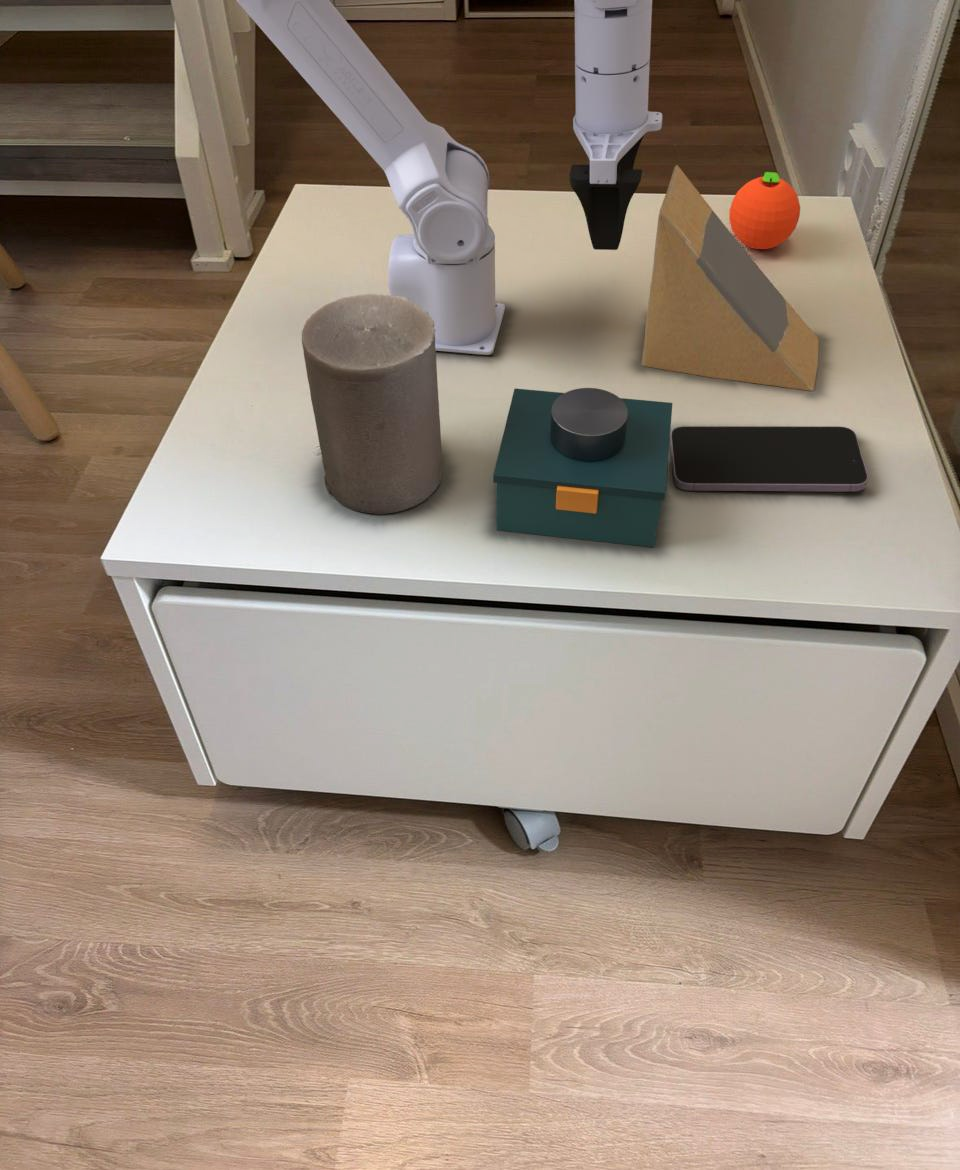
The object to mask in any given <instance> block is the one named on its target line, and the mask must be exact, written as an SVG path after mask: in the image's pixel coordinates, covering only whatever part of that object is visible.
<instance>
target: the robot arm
mask: <svg viewBox="0 0 960 1170" xmlns="http://www.w3.org/2000/svg"><path fill="white" fill-rule="evenodd" d="M235 1H236V3H237V4H239V6H240V7H241V8H242V9H243V10H244V11H245V12H246V14H247V15H248V16H249V17H250V18H251V20H252V21H254V23H255V24H256V25H257V26H258V27H259V29H260V30H261V31H262V32H263V33H264V35H265V36H267V38H268V39H269V40H270V41H271V43H272V44H273V45H274V46H275V47H276V48H277V49H278V51H279V52H280V53H281V54H282V55H283V56H284V58H286V60H287V61H288V62H289V63H290V64H291V66H292V67H293V68H294V69H295V70H296V71H297V72H298V73H299V75H300V76H301V77H302V78H303V79H304V81H305V82H306V83H307V84H308V85H309V86H310V87H311V89H313V91H314V92H315V93H316V94H317V96H319V98H320V99H321V100H322V101H323V102H324V104H325V105H326V106H327V107H328V108H329V109H330V110H331V112H332V113H333V114H334V115H335V116H336V117H337V119H339V121H340V122H341V123H342V124H343V125H344V126H345V128H346V129H347V130H348V131H349V132H350V133H351V135H352V136H353V137H354V138H355V139H356V140H357V142H358V143H359V144H360V145H361V146H362V147H363V149H364V150H365V151H366V152H367V153H368V154H369V155H370V157H371V158H372V159H373V160H374V161H375V162H376V164H378V166H379V167H380V168H381V169H382V170H383V171H384V174H385V176H386V180H387V181H388V184H389V187H390V189H391V192H392V194H393V195H392V196H393V198H394V200H395V203H396V205H397V207H398V209H399V210H400V211H401V212H402V213H403V214H404V215H405V217H406V218H407V219H408V221H409V223H410V226H411V229H412V233H410V234H399V235H395V237H394V238H393V240H392V243H391V245H390V246H391V247H390V250H389V255H388V265H387V266H388V269H387V283H388V295H389V296H401V297H405V298H407V299H408V300H409V301H411V302H413V303H415V304H417V305H419V306H420V307H421V308H423V309H424V310H425V311H426V312H428V313H429V316H430V317H431V319H432V320H433V321H434V328H435V329H436V330H435V349H436V352H437V351H438V352H448V353H460V354H469V355H470V354H472V355H482V356H491V355H492V354H493V353H494V351H495V347H496V344H497V340H498V337H499V333H500V329H501V325H502V322H503V319H504V316H505V311H506V305H505V304H504V303H502V302H501V303H500V302H499V303H498V302H496V235H495V232H494V230H493V228H492V227H491V226H490V223H489V217H488V201H489V200H488V199H489V196H488V195H489V189H490V173H489V169H488V166H487V164H486V162H485V160H484V159H483V158H482V157H481V155H479V154H478V153H477V152H476V151H475V150H473V149H471V148H470V147H467V146H466V145H463V144H461V143H459V142H457V141H456V140H455V139H454V138H453V137H451V135H450V134H449V133H448V132H447V131H446V129H445V128H444V127H442V126H441V125H439V124H436V123H432V122H430V121H428V120H427V119H426V118H425V117H424V115H422V113H421V112H420V110H419V109H418V108H417V106H416V105H415V104H414V103H413V102H412V101H411V100H410V98H409V97H408V96H407V94H406V93H405V92H404V91H403V90H402V88H401V87H400V86H399V85H398V84H397V82H396V81H395V80H394V78H393V77H392V76H391V75H390V74H389V72H388V71H387V70H386V68H385V67H384V66H383V65H382V63H381V62H380V61H379V59H377V58H376V56H375V55H374V54H373V52H372V51H371V50H370V49H369V47H368V46H367V45H366V44H365V42H364V41H363V40H362V39H361V38H360V36H359V35H358V34H357V33H356V32H355V30H354V29H353V27H352V26H351V25H350V24H349V23H348V21H347V20H346V19H345V18H344V16H343V15H342V14H341V13H340V12H339V11H338V9H337V8H336V7H335V5H334V4H333V3H332V2H331V0H235ZM573 1H574V3H573V5H574V75H575V76H574V79H575V80H574V85H575V88H574V90H575V91H574V93H575V114H574V116H573V117H572V122H573V123H572V124H573V125H572V126H573V127H572V128H573V133H574V134H575V136H576V138H577V139H578V142H579V143H580V145H581V147H582V148H583V150H584V152H585V154H586V156H587V158H588V159H589V164H571V166H570V171H569V183H570V186H571V187H570V188H571V189H572V190H573V192H574V193H575V195H576V197H577V198H578V200H579V202H580V204H581V207H582V210H583V212H584V216H585V220H586V225H587V230H588V234H589V238H590V243H591V245H592V249H593V250H595V251H596V250H597V251H598V250H600V251H602V250H603V251H617V250H619V246H620V244H621V241H622V235H623V231H624V225H625V221H626V216H627V213H628V209H629V205H630V203H631V200H632V198H633V197H634V194H635V193H636V191H637V189H638V187H639V186H640V183H641V181H642V177H643V176H642V175H643V169H638V168H637V169H636V168H635V169H634V166H635V162H636V158H637V157H636V156H637V154H638V151H639V149H640V145H641V144H642V142H643V138H644V137H645V135H646V133H648V132H658V131H661V129H662V127H663V126H662V125H663V113H662V112H660V111H650V110H649V88H650V87H649V86H650V67H651V66H650V65H651V64H650V63H651V43H652V42H651V41H652V15H653V0H573Z"/></svg>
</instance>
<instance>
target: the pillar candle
mask: <svg viewBox="0 0 960 1170" xmlns="http://www.w3.org/2000/svg"><path fill="white" fill-rule="evenodd" d="M435 330H436V329H435V328H434V321H433V320H432V319H431V317H430V316H429V313H428V312H426V311H425V310H424V309H423V308H421V307H420V306H419V305H417V304H415V303H413V302H411V301H409V300H408V299H407V298H405V297H401V296H389V294H378V293H377V294H376V293H375V294H374V293H373V294H371V293H370V294H369V293H368V294H358V295H352V296H347V297H341V298H338V299H336V300H333V301H331V302H328V303H327V304H325V305H323V306H322V307H320V308H319V309H317V310H316V311H315V312H314V313H312V314H310V316H309V317H308V318H307V319H306V321H305V324H304V325H303V328H302V331H301V344H302V351H303V358H304V363H305V370H306V376H307V382H308V386H309V391H310V392H309V393H310V402H311V405H312V411H313V416H314V421H315V426H316V433H317V438H318V444H319V449H320V454H321V459H322V465H323V471H324V477H323V478H324V486H325V488H326V490H327V492H328V494H329V495H330V496H332V498H333V499H334V500H336V502H338V504H340V505H342V506H344V507H347V508H349V509H351V510H352V511H353V510H354V511H356V512H359V513H365V514H373V515H388V514H395V513H398V512H404V511H406V510H409V509H411V508H414V507H416V506H418V505H420V504H421V503H423V502H425V501H426V500H427V499H429V498H430V497H431V496H432V495H433V493H435V492H436V491H437V489H438V487H439V486H440V484H441V482H442V478H443V455H442V436H441V416H440V401H439V388H438V387H439V384H438V383H439V382H438V368H437V365H438V364H437V351H436V349H435Z"/></svg>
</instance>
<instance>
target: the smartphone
mask: <svg viewBox="0 0 960 1170" xmlns="http://www.w3.org/2000/svg"><path fill="white" fill-rule="evenodd" d="M669 449H670V458H671V468H672V478H673V479H672V480H673V483H674V485H675V487H676V488H678V489H680V490H682V491H699V492H701V491H702V492H703V491H705V492H706V491H707V492H708V491H709V492H710V491H712V492H713V491H714V492H720V491H721V492H738V491H739V492H847V493H849V492H861V491H862V490H864V489H865V488H866V487H867V484H868V480H869V474H868V471H867V468H866V464H865V461H864V457H863V454H862V449H861V446H860V443H859V439H858V436H857V434H856V432H855V431H854V430H853V429H851V428H849V427H846V426H839V425H837V426H829V425H827V426H822V425H821V426H818V425H813V426H811V425H810V426H805V425H802V426H798V425H797V426H796V425H795V426H794V425H792V426H791V425H790V426H789V425H788V426H787V425H786V426H785V425H784V426H782V425H781V426H780V425H779V426H778V425H777V426H776V425H775V426H774V425H773V426H771V425H769V426H768V425H767V426H765V425H764V426H761V425H759V426H757V425H756V426H755V425H753V426H752V425H750V426H747V425H745V426H744V425H743V426H742V425H738V426H736V425H730V426H727V425H723V426H722V425H718V426H717V425H716V426H715V425H703V426H702V425H701V426H700V425H692V426H691V425H683V426H676V427H675V428H673V429H672V430H671V431H670V442H669Z"/></svg>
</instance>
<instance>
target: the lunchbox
mask: <svg viewBox="0 0 960 1170" xmlns="http://www.w3.org/2000/svg"><path fill="white" fill-rule="evenodd" d="M564 393H565V392H558V391H547V390H537V389H526V388H525V389H524V388H514V389H513V392H512V397H511V401H510V404H509V409H508V413H507V417H506V420H505V421H506V422H505V426H504V430H503V434H502V438H501V442H500V445H499V450H498V453H497V457H496V461H495V466H494V470H493V473H492V482H493V484H495V487H496V490H495V491H496V493H495V494H496V499H495V500H496V531H501V532H512V533H521V534H530V535H537V536H538V535H539V536H548V537H556V538H557V537H558V538H565V539H574V540H584V541H592V542H593V541H594V542H602V543H603V542H604V543H612V544H620V545H628V546H629V545H630V546H638V547H647V548H655V545H656V537H657V532H658V524H659V519H660V511H661V506H662V501H665V499H666V489H667V477H668V465H669V453H670V451H669V450H670V435H671V428H672V415H673V402H667V401H656V400H646V399H636V398H635V399H634V398H624V397H619V398H620V399H621V400H622V401H623V402H624V403H625V405H626V407H627V409H628V419H627V428H626V437H625V443H624V446H623V447H622V449H621V450H620V451H619V452H618V453H617V454H616V455H614V456H612V457H610V458H608V459H605V460H601V461H594V462H585V461H578V460H574V459H571V458H568V457H566V456H564V455H562V454H561V453H560V452H558V451H557V450H556V449H555V447H554V446H553V444H552V442H551V438H550V431H551V409H552V405H553V403H554V402H555V400H556V399H557V398H558V397H559V396H561V395H562V394H564Z"/></svg>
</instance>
